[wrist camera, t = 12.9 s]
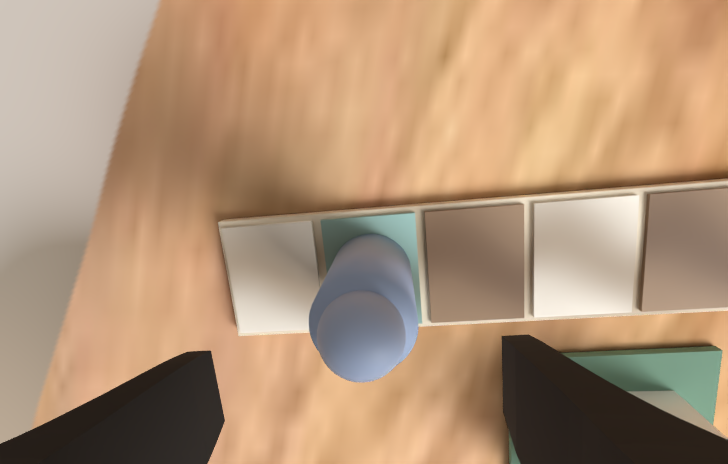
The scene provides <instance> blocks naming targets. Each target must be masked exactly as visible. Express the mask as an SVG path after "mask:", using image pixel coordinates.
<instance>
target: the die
mask: <svg viewBox="0 0 728 464" xmlns="http://www.w3.org/2000/svg"><path fill="white" fill-rule="evenodd" d="M627 392H629V393H631V394H633V395H634V396H636V397H638V398H640V399H642V400H644V401H646V402H648V403H650V404H652V405H653V406H655V407H657V408H659V409H661V410H664V411H666V412H668V413H670V414H672V415H674V416H676V417H678V418H680V419H682V420H685V421H687V422H689V423H691V424H693V425H696V426H698V427H700V428H702V429H705V430H707V431H709V432H711V433H713V434H716V435H718V436H720V437H722V438H725V439H727V440H728V438H727V437H725V436H724V435H723V434H722V433H721V432H720V431H719V430H718V429H717V428H715V427H714V426H713V425H712V424H711V423H710V422H709V421H708V420H706V419H705V418H704V417H703V416H702V415H701V414H700V413H699V412H697V411H696V410H695V409H694V408H693V407H692V406H691V405H690V404H688V403H687V402H686V401H685V400H684V399H683V398H682V397H681V396H680V395H678V394H677V393H676V392H675V391H627Z"/></svg>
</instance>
